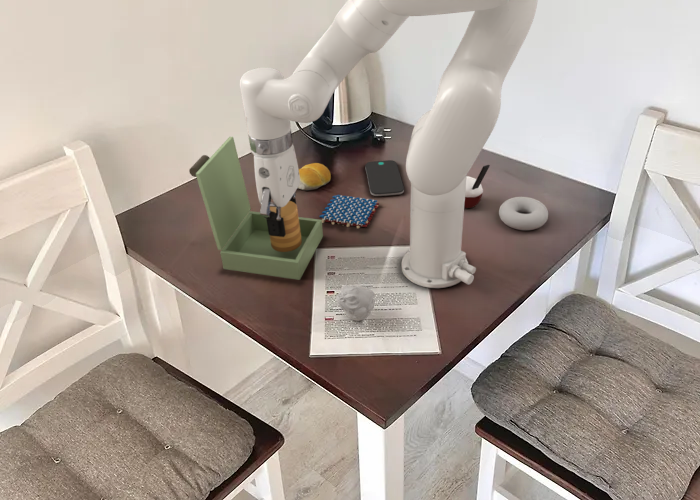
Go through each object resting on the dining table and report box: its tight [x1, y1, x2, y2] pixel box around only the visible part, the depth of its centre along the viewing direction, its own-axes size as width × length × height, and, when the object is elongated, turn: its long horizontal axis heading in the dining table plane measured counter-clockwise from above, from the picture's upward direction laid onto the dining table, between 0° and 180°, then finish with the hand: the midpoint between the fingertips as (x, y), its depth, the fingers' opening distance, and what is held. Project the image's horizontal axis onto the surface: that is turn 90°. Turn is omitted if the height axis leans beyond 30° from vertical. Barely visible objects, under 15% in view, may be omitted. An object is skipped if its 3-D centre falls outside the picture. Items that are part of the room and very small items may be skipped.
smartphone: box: [364, 159, 405, 197], centre depth 153 cm, size 8×1×15 cm
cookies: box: [270, 201, 302, 252], centre depth 126 cm, size 6×6×8 cm
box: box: [219, 210, 324, 281], centre depth 130 cm, size 16×15×5 cm
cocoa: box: [464, 164, 491, 209], centre depth 139 cm, size 10×6×12 cm, turn 6°
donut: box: [498, 196, 549, 231], centre depth 137 cm, size 10×4×10 cm
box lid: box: [189, 136, 252, 251], centre depth 126 cm, size 16×15×5 cm
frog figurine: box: [335, 284, 375, 322], centre depth 113 cm, size 6×7×7 cm
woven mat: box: [319, 194, 380, 229], centre depth 141 cm, size 10×11×2 cm
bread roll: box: [297, 162, 332, 191], centre depth 153 cm, size 8×9×4 cm
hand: (283, 224), depth 126 cm, fingers closed on cookies, 6 cm apart
